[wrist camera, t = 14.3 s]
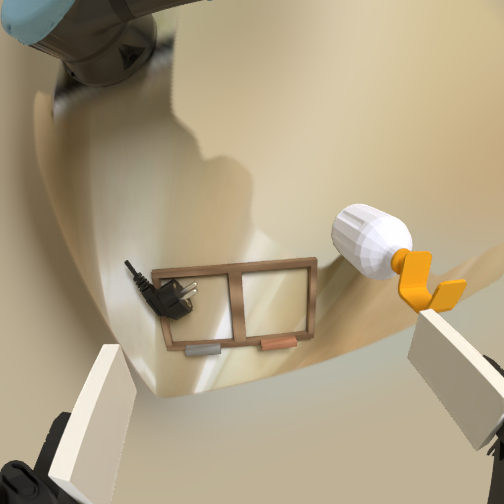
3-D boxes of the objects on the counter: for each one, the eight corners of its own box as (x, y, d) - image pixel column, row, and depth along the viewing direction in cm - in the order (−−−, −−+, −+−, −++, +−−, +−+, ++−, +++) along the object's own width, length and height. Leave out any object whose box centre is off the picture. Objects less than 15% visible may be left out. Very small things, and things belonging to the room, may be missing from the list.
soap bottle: (382, 204, 46) (489, 252, 23) (375, 256, 49) (466, 330, 26) (333, 201, 45) (429, 253, 22) (327, 257, 48) (406, 343, 25)
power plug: (117, 270, 39) (167, 332, 43) (159, 242, 39) (208, 308, 43) (125, 257, 44) (169, 314, 48) (163, 231, 44) (206, 292, 48)
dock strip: (152, 269, 46) (148, 277, 43) (315, 256, 48) (320, 263, 45) (168, 346, 51) (166, 356, 48) (311, 334, 53) (316, 343, 50)
